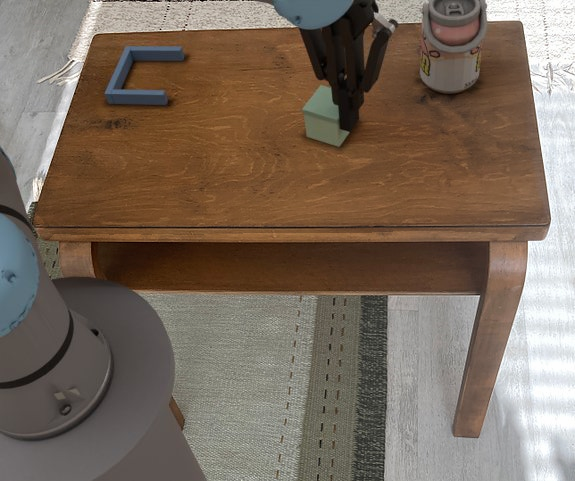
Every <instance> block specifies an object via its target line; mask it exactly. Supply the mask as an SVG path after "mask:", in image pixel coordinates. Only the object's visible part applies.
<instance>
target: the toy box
mask: <svg viewBox="0 0 575 481" xmlns="http://www.w3.org/2000/svg"><path fill="white" fill-rule="evenodd" d="M301 112H302V115H303V119H304V127H305V135H306V137H307V138H309V139H313V140H316V141H319V142H322V143H324V144H325V143H326V144H328V145H331V146H335V147H338V148H339V147H341V145H342V144H343V143H344V141H345V140H346V138H347V137H348V135H349V134H350V132H348V131H344V130H341V129H340V121H339V110H338V105H334V103H333V101H332V91H331V86H330V87H329V86H325V85H323V84H320V85H319V87H317V88H316V90H315V91H314V93H313V94H312V96H311V97H310V98H309V99H308V101H307V102H306V103H305V104H304V106H303V107H302V109H301Z"/></svg>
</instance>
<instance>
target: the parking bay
mask: <svg viewBox="0 0 575 481" xmlns="http://www.w3.org/2000/svg"><path fill="white" fill-rule="evenodd" d="M184 60H185V54H184V49H183V46H169V45H167V46H162V45H161V46H160V45H159V46H158V45H157V46H155V45H148V46H147V45H143V46H142V45H126V46H125V47H124V49H123V52H122V54H121V56H120V58H119V61H118V63H117V65H116V67H115V69H114V71H113V74H112V75H111V78H110V81H109V83H108V84H107V86H106V89H105V91H104V96H105V99H106V102H107V104H108V105H140V106H142V105H144V106H147V105H148V106H167V104H168V102H169V99H168V96H167V92H166V90H163V89H122V88H123V85H124V83H125V82H126V79H127V76H128V74H129V72H130V69H131V67H132V64H133V62H134V61H137V62H140V61H143V62H144V61H147V62H149V61H150V62H151V61H152V62H183V61H184Z"/></svg>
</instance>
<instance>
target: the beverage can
mask: <svg viewBox="0 0 575 481" xmlns="http://www.w3.org/2000/svg"><path fill="white" fill-rule="evenodd" d="M487 9H488V4H487V2H486V0H429V1H428V3H423V4H422V8H421V11H420V12H421V14H422V18H421V31H420V32H421V33H420V34H421V37H420V62H419V63H420V64H419V76H420V78H421V80H422V82H423V83H424V84H425V85H426V87H428V88H429V89H430V90H432V91H435V92H437V93H440V94H458V93H461V92H464V91H466V90H468V89H469V88H471V87H472V86H473V85H474V84H475V83H476V82H477V80H478V79H479V76H480V70H481V62H482V61H481V60H482V51H483V42H484V40H485V38H486V35H487V32H488V27H489V26H488V16H487Z"/></svg>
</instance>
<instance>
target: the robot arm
mask: <svg viewBox="0 0 575 481" xmlns="http://www.w3.org/2000/svg"><path fill="white" fill-rule="evenodd" d="M251 1H253V2H256V3H257V2H258V3H263V4H267V5H270V6H273V9H274V10H275V12H276V14H277V15H279V17H282V18H283V19H286V20H287V22H289V23H290V24H292V25H293V26H295V27H296V28H298V30H299V34H300V35H301V39H302V42H303V44H304V48H305V50H306V53H307V56H308V59H309V61H310V64H311V68H312V70H313V73H314V76H315V78H316V80H318V81H323V80H324V81H326V82H328V85H329V86H330V88H331V91H332V101H333V103H334V105H338V110H339V121H340V129H341V130H344V131H348V132H349V133H351V132H352V130H353V129H354V127H355V126H356V125H357V123H358V122H359V121H360V109H362V108H361V107H363V105H364V103H365V94H366V93H370V91H371V89H372V88H373V87H374V85H375V84H376V83H377V82H378V80H379V77H380V74H381V70H382V66H383V63H384V59H385V55H386V52H387V48H388V45H389V41H390V38H391V37H392V36H393V34H394V32H396V30H397V28H399V22H398V21H397V20H396V19H395V18H390V19H389V20H387V19H386V18H385V17H384V16H383V15H381V14H380V13H379V12H380V8H379V4H378V3H377V2H376V0H251ZM370 25H372V30H371V32H372V34H371V37H372V38H373V41H371V45H370V48H369V52H368V56H367V60H366V63H365V47H364V45H365V44H364V35H365V34H366V30H367V29H368V28H369V26H370ZM345 77H346V78H345ZM17 178H18V177H17V173H16V169H15V167H14V164H13V162H12V161H11V159H10V157H9V156H8V154H7V153H6V152H5V150H4V149H3V147H2V145H0V433H2V434H3V435H5V436H7V437H10V438H13V439H16V440H22V441H40V440H46V439H50V438H54V437H57V436H59V435H62V434H64V433H66V432H68V431H70V430H72V429H73V428H75V427H77V426H78V425H80V424H81V423H82V422H84V421H85V420H86V419H87V418H88V417H89V416H90V415H91V414H92V413H93V412H94V411H95V410H96V409H97V408H98V407H99V405H100V404H101V402H102V401H103V399H104V398H105V396H106V394H107V392H108V390H109V388H110V385H111V382H112V378H113V373H114V358H113V353H112V350H111V347H110V345H109V343H108V341H107V340H106V338H105V336H104V334H103V333H102V331H101V330H100V329H99V328H98V327H97V326H96V325H95V324H94V323H93V322H91V321H90V320H88V319H86V318H85V317H83V316H81V315H79V314H78V313H76V312H74V311H72V310H71V309H69V308H68V307H67V306H66V304H65V302H64V301H63V299H62V297H61V296H60V294H59V292H58V291H57V289H56V287H55V286H54V284H53V283H52V281H51V280H52V279H51V277H50V275H49V273H48V271H47V268H46V265H45V263H44V261H43V258H42V254H41V251H40V248H39V246H38V242H37V240H36V237H35V234H34V231H33V227H32V225H31V221H30V218H29V215H28V212H27V210H26V206H25V204H24V200H23V197H22V194H21V191H20V188H19V184H18V180H17Z"/></svg>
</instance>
